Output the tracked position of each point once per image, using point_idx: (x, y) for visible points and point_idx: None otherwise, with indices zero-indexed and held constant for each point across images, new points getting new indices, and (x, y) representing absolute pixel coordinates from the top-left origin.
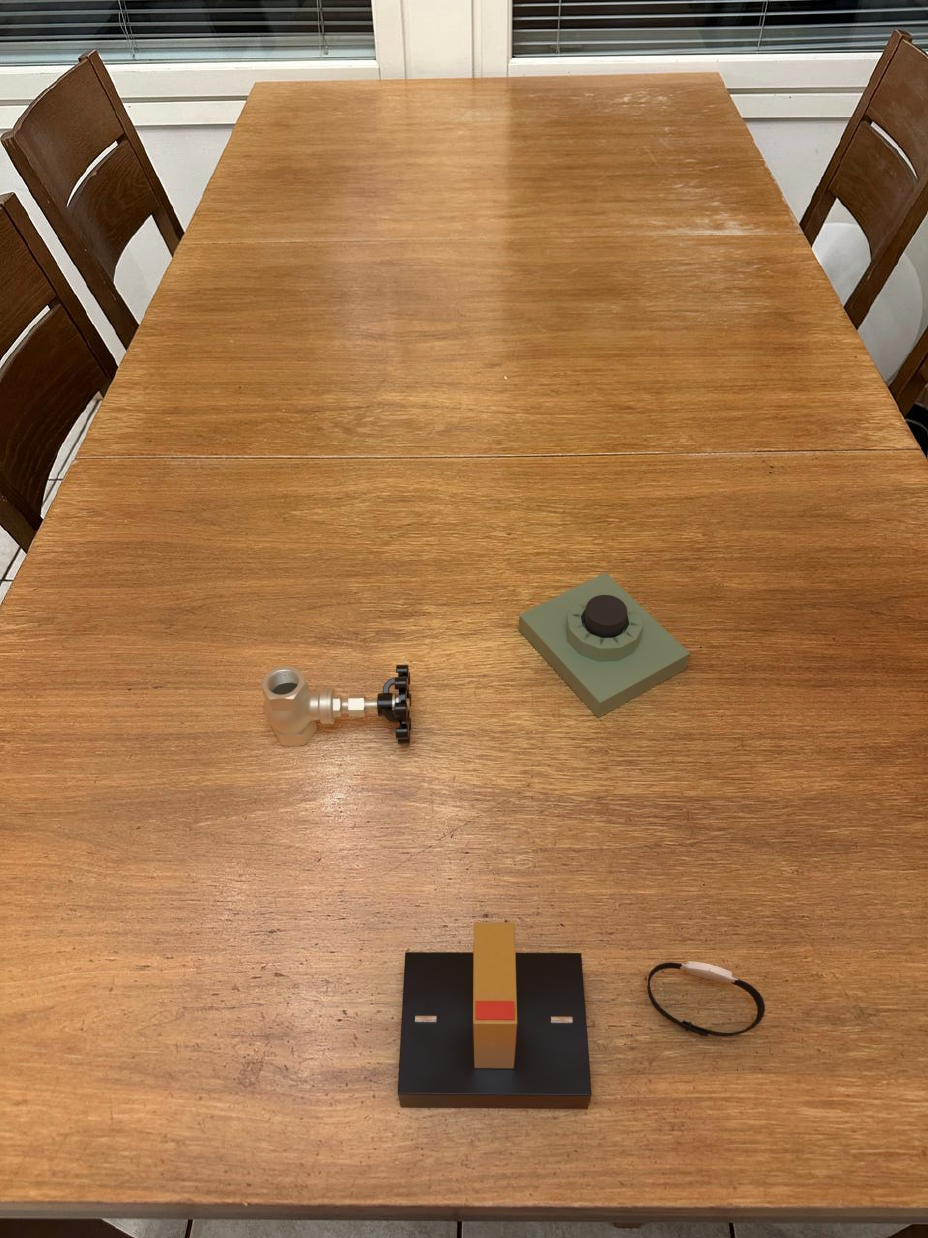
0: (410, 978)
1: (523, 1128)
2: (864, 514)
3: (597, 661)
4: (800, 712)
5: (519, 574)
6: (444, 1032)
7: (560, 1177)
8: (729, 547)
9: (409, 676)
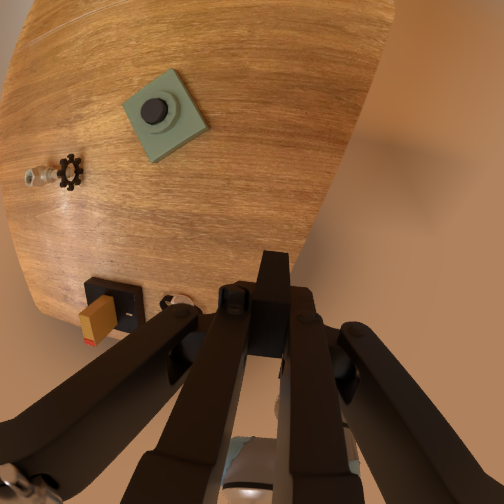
0: (86, 291)
1: None
2: (355, 30)
3: (153, 134)
4: (268, 163)
5: (136, 68)
6: None
7: None
8: (262, 40)
9: (70, 157)
